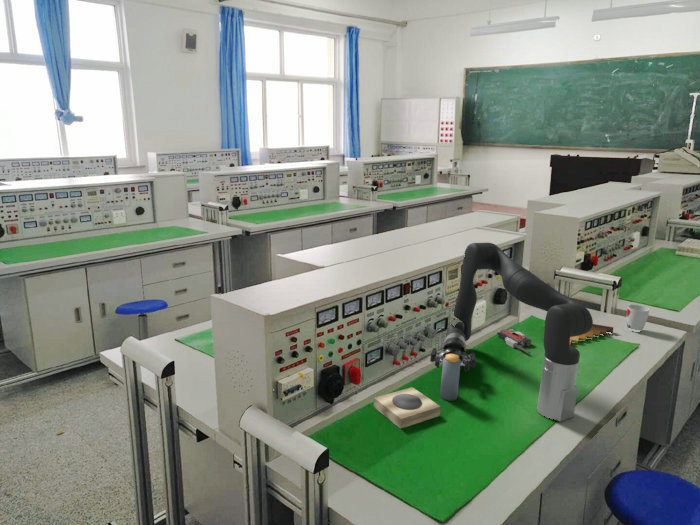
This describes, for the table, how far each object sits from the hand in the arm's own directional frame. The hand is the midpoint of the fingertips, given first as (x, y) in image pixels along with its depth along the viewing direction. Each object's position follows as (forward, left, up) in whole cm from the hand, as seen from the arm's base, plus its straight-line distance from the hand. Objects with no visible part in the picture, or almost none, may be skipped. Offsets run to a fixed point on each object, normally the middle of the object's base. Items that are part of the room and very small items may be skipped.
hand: (451, 367), depth 170 cm
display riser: (-5, +21, -7) cm, 23 cm away
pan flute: (+8, -76, -8) cm, 77 cm away
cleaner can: (-4, +4, -7) cm, 9 cm away
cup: (+2, -104, -7) cm, 104 cm away
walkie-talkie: (+14, -47, -8) cm, 50 cm away
